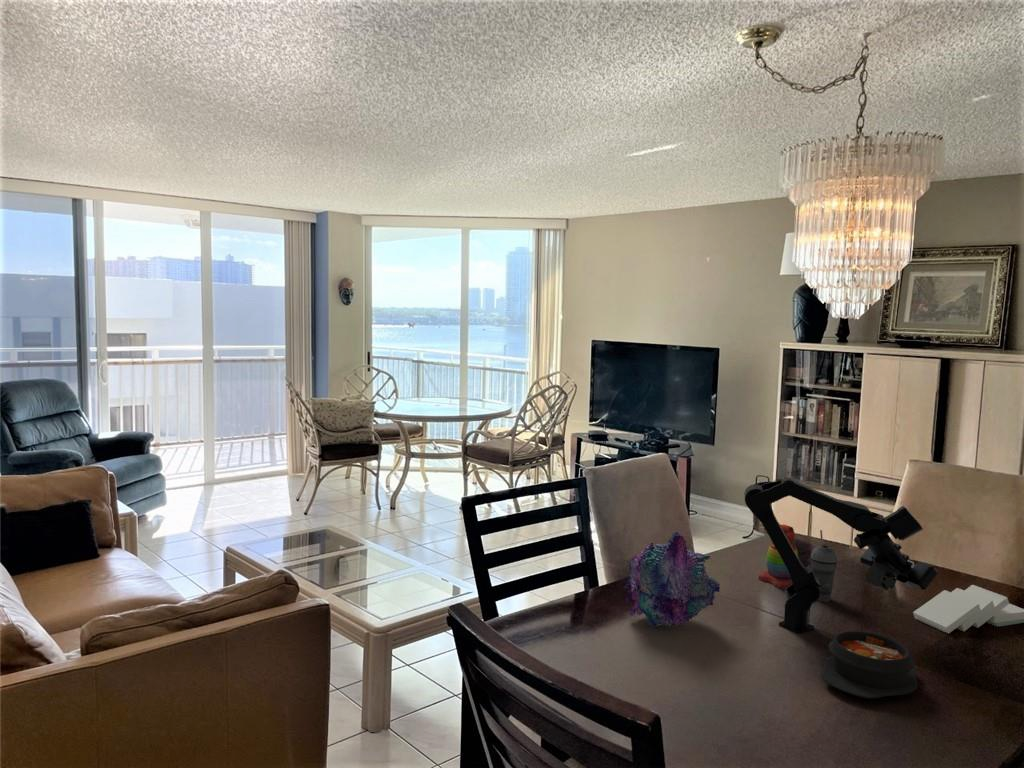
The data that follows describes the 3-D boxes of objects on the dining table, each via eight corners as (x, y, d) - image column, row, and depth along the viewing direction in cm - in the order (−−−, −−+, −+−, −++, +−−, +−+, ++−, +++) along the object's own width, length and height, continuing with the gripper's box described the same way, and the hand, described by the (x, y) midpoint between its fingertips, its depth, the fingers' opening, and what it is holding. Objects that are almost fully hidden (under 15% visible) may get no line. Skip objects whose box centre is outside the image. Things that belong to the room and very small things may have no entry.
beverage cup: (832, 605, 198) (836, 536, 197) (804, 599, 203) (808, 531, 201) (838, 598, 204) (842, 530, 203) (811, 592, 208) (815, 525, 207)
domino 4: (994, 615, 186) (1029, 611, 189) (961, 601, 195) (994, 597, 199) (994, 622, 186) (1028, 618, 189) (960, 608, 195) (993, 604, 199)
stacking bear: (755, 578, 220) (757, 522, 218) (779, 573, 224) (782, 518, 223) (781, 589, 210) (784, 531, 208) (806, 585, 214) (809, 527, 213)
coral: (609, 628, 180) (612, 532, 178) (635, 600, 199) (638, 513, 197) (708, 650, 169) (713, 548, 167) (726, 618, 188) (730, 527, 186)
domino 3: (975, 621, 184) (1007, 597, 187) (941, 607, 193) (972, 584, 196) (977, 627, 184) (1009, 603, 187) (944, 613, 194) (974, 590, 197)
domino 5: (997, 622, 186) (1029, 617, 190) (962, 608, 195) (993, 603, 199) (996, 629, 186) (1029, 624, 190) (961, 615, 196) (993, 610, 199)
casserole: (854, 651, 170) (856, 617, 170) (938, 682, 156) (941, 645, 155) (798, 681, 155) (800, 644, 154) (886, 718, 140) (888, 678, 140)
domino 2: (962, 625, 182) (992, 600, 185) (927, 611, 191) (956, 587, 195) (964, 631, 182) (994, 606, 186) (929, 617, 192) (958, 593, 195)
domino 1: (946, 627, 181) (978, 603, 184) (912, 612, 190) (944, 589, 193) (948, 633, 181) (980, 610, 184) (914, 618, 190) (946, 596, 193)
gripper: (835, 559, 184) (864, 596, 189) (895, 585, 167) (926, 625, 171) (860, 528, 186) (889, 565, 191) (923, 550, 169) (952, 590, 174)
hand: (912, 586), depth 182 cm, fingers closed
